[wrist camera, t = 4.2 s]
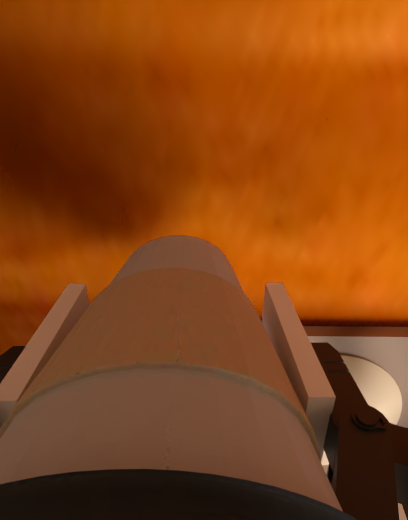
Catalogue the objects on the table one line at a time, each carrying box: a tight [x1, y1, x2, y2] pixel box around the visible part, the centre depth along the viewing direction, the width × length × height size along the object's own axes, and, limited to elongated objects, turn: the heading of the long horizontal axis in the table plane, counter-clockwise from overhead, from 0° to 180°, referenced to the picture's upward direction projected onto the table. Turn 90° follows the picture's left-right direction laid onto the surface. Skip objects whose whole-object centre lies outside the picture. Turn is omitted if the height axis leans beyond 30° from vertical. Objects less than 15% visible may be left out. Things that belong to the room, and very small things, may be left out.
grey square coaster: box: [303, 326, 408, 474], centre depth 28 cm, size 16×15×2 cm
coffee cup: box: [0, 236, 357, 520], centre depth 11 cm, size 9×9×15 cm
